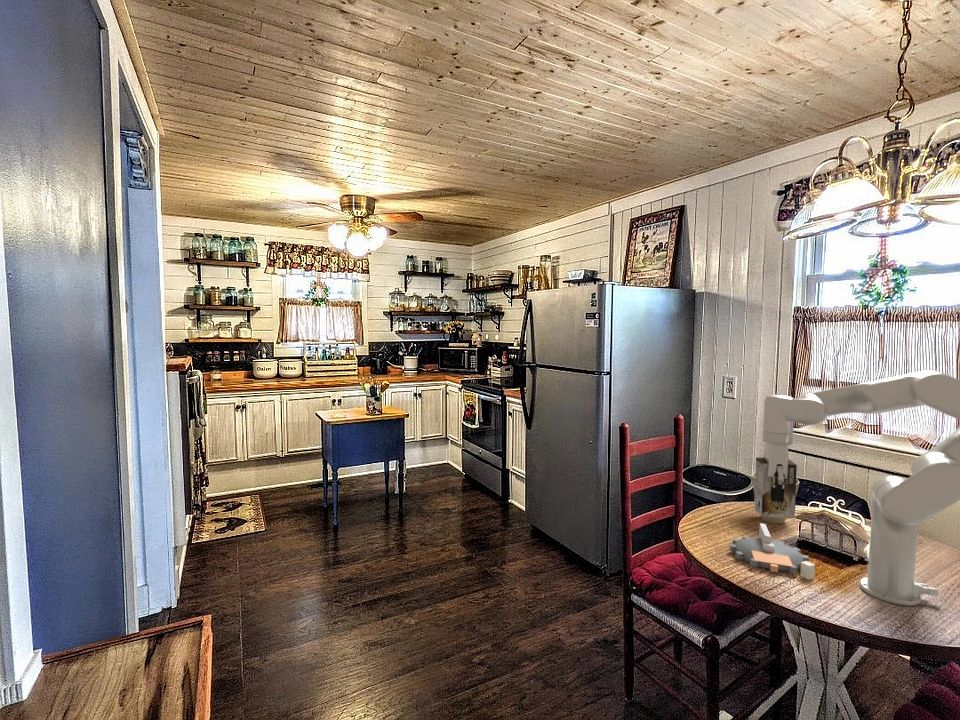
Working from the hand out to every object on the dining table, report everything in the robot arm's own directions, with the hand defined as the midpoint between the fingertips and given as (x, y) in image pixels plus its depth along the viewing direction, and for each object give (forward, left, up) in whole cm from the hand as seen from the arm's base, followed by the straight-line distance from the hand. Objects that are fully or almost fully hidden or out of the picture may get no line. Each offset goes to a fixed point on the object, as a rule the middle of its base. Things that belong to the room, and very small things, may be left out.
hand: (774, 496), depth 144 cm
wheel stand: (-3, -3, -21) cm, 22 cm away
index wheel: (0, -6, -21) cm, 22 cm away
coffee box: (0, 0, -6) cm, 6 cm away
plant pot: (-7, -40, -22) cm, 46 cm away
